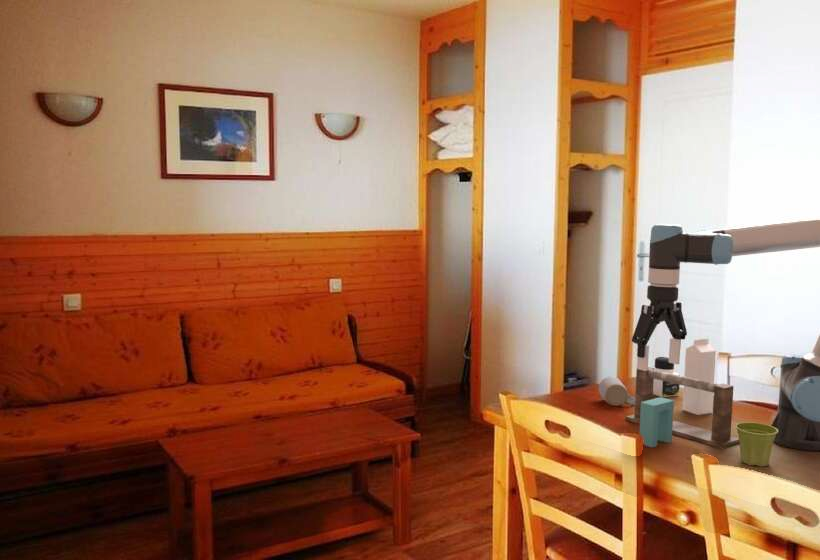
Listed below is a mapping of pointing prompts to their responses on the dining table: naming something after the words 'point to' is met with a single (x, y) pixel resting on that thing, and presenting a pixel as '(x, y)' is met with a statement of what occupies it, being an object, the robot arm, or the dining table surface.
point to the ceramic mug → (614, 392)
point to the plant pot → (755, 442)
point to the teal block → (656, 421)
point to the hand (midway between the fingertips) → (658, 366)
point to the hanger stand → (716, 437)
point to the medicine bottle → (665, 387)
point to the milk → (699, 377)
